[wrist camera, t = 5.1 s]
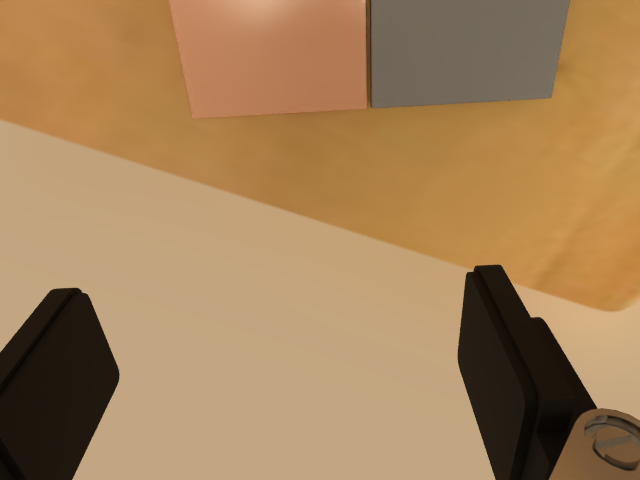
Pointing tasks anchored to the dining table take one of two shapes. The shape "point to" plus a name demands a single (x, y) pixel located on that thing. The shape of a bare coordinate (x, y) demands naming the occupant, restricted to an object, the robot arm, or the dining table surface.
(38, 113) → the dining table surface
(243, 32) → the terracotta tile
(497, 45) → the gray tile
